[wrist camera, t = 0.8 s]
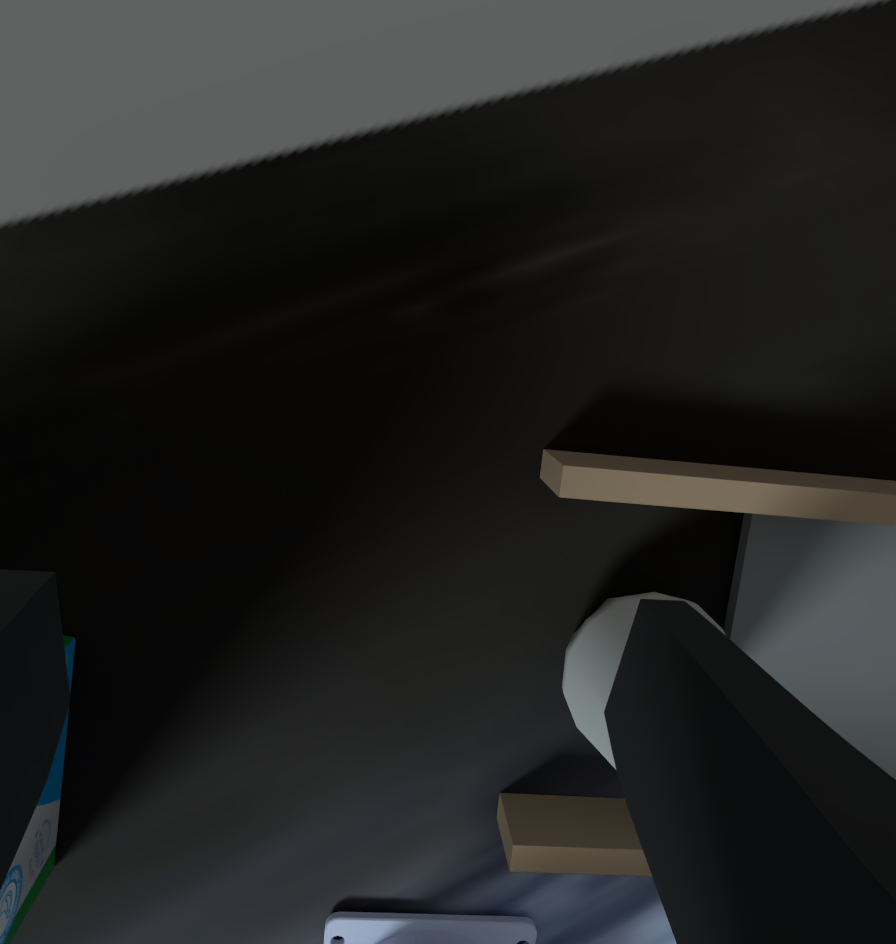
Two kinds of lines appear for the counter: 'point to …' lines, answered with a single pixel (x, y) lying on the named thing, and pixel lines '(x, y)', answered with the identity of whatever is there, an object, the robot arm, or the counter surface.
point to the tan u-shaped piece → (748, 623)
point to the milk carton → (36, 839)
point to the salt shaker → (602, 663)
